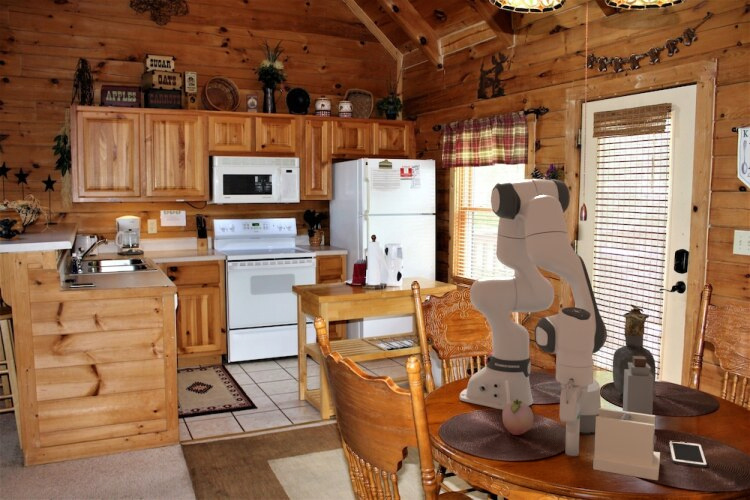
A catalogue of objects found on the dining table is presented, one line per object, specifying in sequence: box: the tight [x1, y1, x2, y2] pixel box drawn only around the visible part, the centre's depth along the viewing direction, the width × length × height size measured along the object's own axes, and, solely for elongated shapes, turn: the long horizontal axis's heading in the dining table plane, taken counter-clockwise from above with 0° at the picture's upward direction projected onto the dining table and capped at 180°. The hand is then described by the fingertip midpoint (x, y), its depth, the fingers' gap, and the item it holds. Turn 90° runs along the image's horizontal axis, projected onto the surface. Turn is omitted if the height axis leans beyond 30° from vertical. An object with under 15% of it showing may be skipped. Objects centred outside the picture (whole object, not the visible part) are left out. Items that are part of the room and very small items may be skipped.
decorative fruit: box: [501, 399, 535, 436], centre depth 176 cm, size 9×8×10 cm
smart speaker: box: [564, 378, 602, 435], centre depth 180 cm, size 10×9×14 cm
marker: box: [564, 412, 580, 457], centre depth 164 cm, size 3×3×11 cm
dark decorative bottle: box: [612, 304, 657, 401], centre depth 207 cm, size 11×19×30 cm, turn 172°
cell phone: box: [668, 439, 708, 468], centre depth 164 cm, size 8×15×1 cm, turn 160°
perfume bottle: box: [622, 356, 655, 415], centre depth 189 cm, size 7×7×18 cm
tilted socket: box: [592, 407, 661, 481], centre depth 156 cm, size 14×11×12 cm
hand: (572, 428), depth 164 cm, fingers closed on marker, 3 cm apart
